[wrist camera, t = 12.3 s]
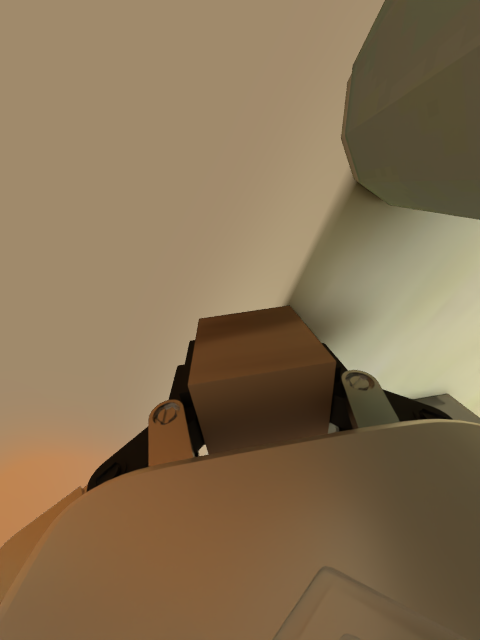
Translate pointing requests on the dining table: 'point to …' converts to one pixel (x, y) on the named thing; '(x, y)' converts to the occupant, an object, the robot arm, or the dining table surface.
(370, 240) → the dining table surface
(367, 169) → the disposable coffee cup
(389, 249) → the dining table surface
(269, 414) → the walnut cube
